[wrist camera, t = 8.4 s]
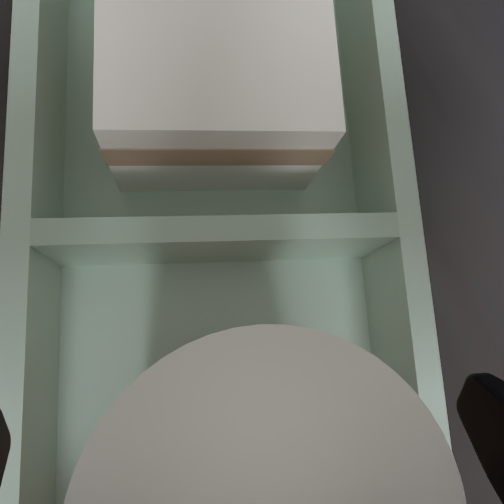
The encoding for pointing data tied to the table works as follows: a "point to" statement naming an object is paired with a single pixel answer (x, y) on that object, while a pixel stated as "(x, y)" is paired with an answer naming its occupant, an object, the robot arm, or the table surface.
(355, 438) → the canister
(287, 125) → the block
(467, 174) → the table surface
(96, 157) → the tote
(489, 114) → the table surface
